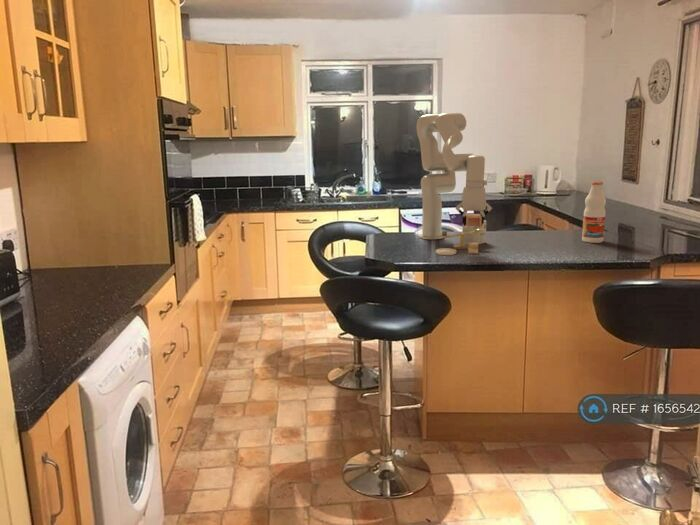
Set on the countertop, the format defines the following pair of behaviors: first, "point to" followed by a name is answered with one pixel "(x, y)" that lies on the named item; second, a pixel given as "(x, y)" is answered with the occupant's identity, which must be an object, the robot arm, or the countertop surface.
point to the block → (473, 247)
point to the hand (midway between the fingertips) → (472, 224)
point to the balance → (461, 246)
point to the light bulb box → (474, 234)
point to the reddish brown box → (473, 220)
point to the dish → (445, 251)
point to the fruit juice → (594, 214)
